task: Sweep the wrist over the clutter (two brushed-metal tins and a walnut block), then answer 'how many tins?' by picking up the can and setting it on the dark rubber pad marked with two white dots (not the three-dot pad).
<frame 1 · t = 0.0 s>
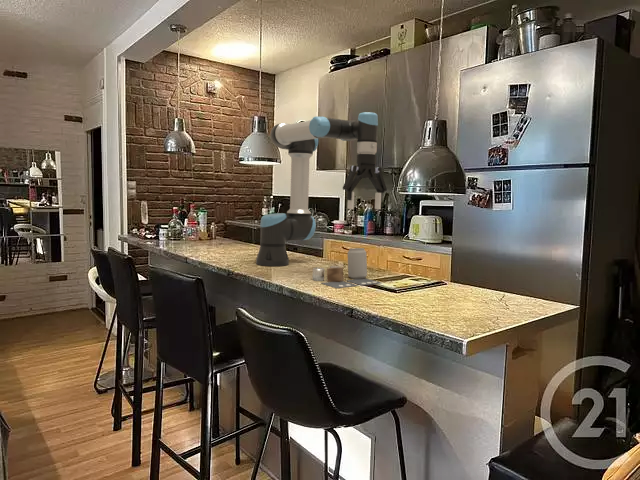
hand: (364, 209, 184), 28 cm above the worktop, fingers open, 13 cm apart
pad three: (363, 283, 180), on the worktop
tin a: (318, 281, 182), on the worktop
walnut block: (335, 281, 181), on the worktop, tilted 8°, touching pad two
can: (357, 278, 189), on the worktop
tin b: (334, 279, 186), on the worktop
pad two: (339, 285, 174), on the worktop
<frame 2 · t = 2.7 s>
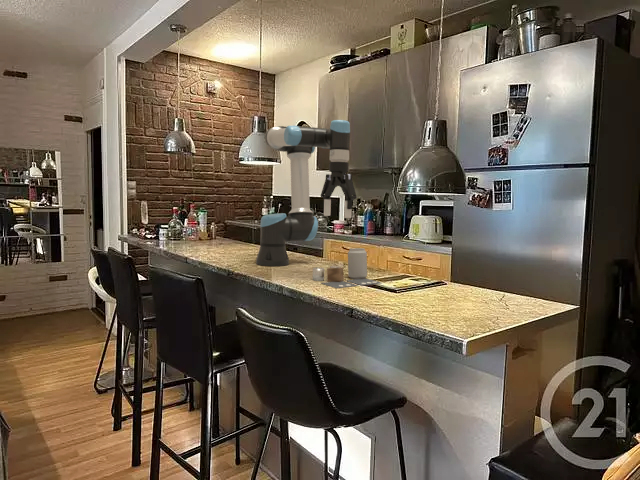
hand: (337, 216, 184), 25 cm above the worktop, fingers open, 13 cm apart
can: (357, 278, 189), on the worktop, touching pad three
everything else where it was.
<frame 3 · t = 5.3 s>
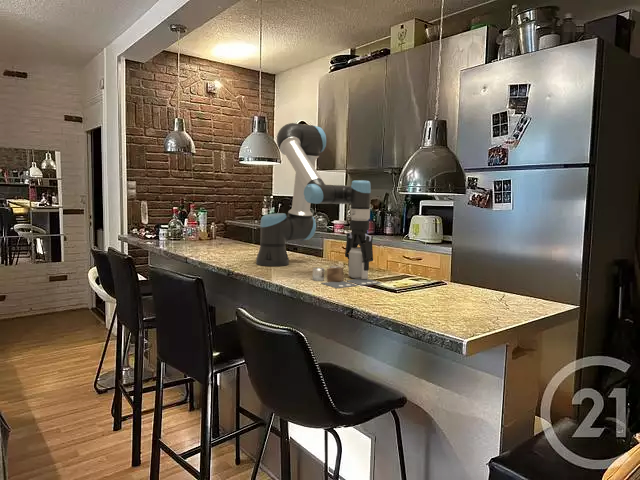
hand: (357, 276, 189), 1 cm above the worktop, fingers closed on can, 7 cm apart
can: (357, 277, 189), on the worktop, touching gripper
everything else where it was.
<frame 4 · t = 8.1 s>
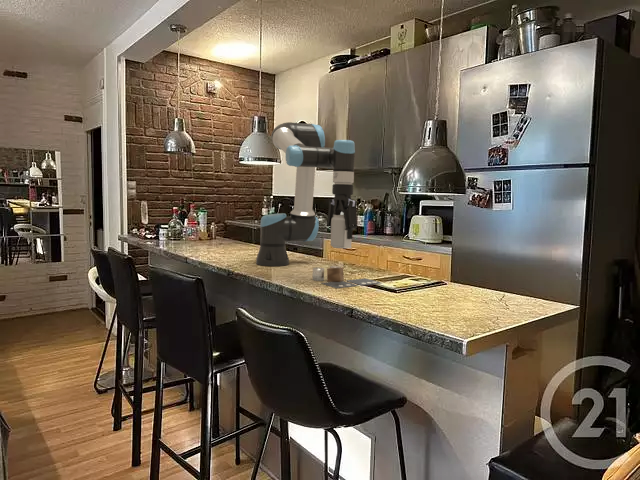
hand: (340, 246, 172), 14 cm above the worktop, fingers closed on can, 7 cm apart
can: (340, 247, 172), point 14 cm above the worktop, touching gripper
everything else where it was.
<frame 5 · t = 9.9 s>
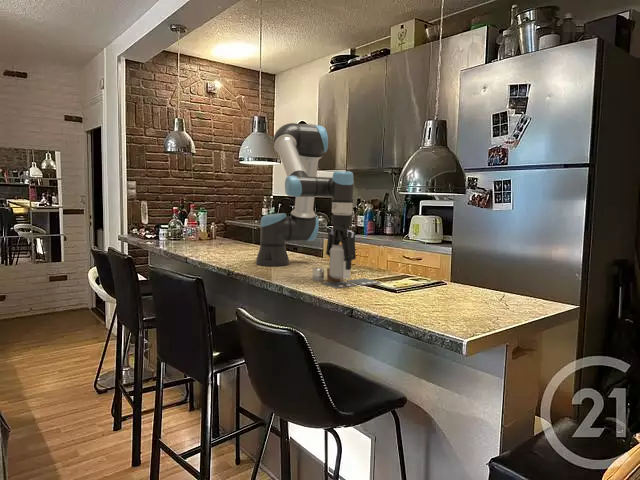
hand: (339, 276, 173), 3 cm above the worktop, fingers closed on can, 7 cm apart
can: (339, 277, 173), point 3 cm above the worktop, touching gripper
everything else where it was.
when the fingers open (3 cm above the worktop, at t = 10.5 s): can drops 2 cm, resting on pad two.
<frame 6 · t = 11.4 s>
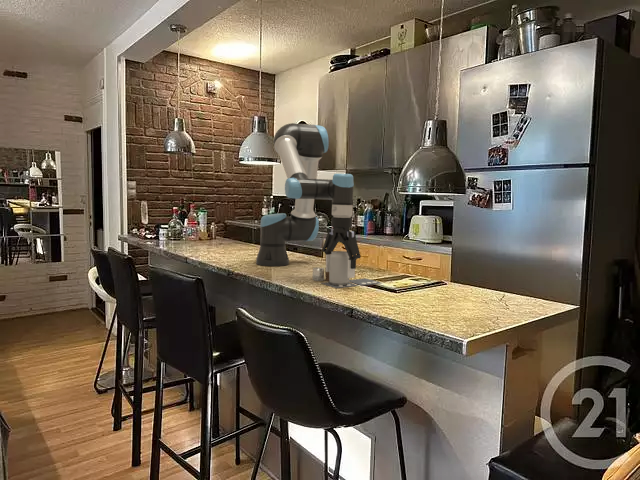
hand: (339, 274, 173), 4 cm above the worktop, fingers open, 13 cm apart
walnut block: (334, 279, 183), point 1 cm above the worktop, tilted 6°, touching gripper, tin b
can: (339, 284, 174), point 1 cm above the worktop, touching pad two
tin b: (335, 278, 187), on the worktop, touching walnut block
everything else where it was.
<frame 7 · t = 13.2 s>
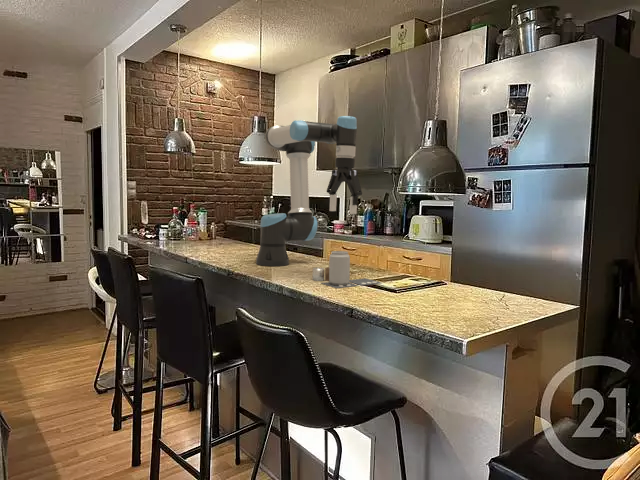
hand: (342, 212, 185), 26 cm above the worktop, fingers open, 13 cm apart
walnut block: (333, 280, 182), on the worktop, tilted 5°, touching pad two
tin b: (335, 278, 188), on the worktop
everything else where it was.
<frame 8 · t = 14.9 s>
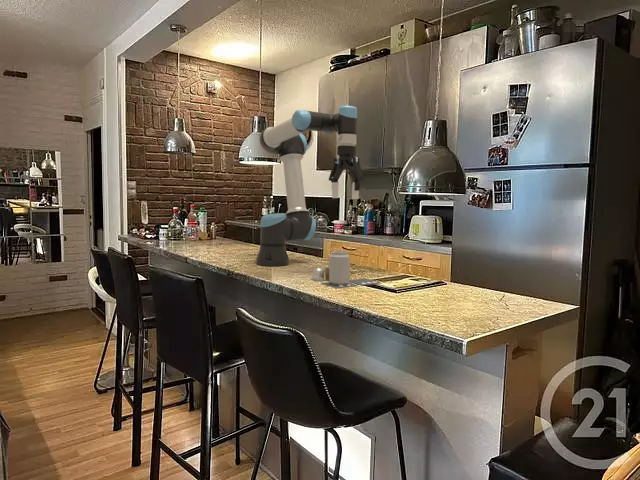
hand: (344, 198, 192), 32 cm above the worktop, fingers open, 13 cm apart
nothing on the worktop moved.
at the end: can inside the target area on the pad two (0.1 cm from its centre), point 0.5 cm above the pad two's base; can tilted 2°; the gripper is holding nothing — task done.
